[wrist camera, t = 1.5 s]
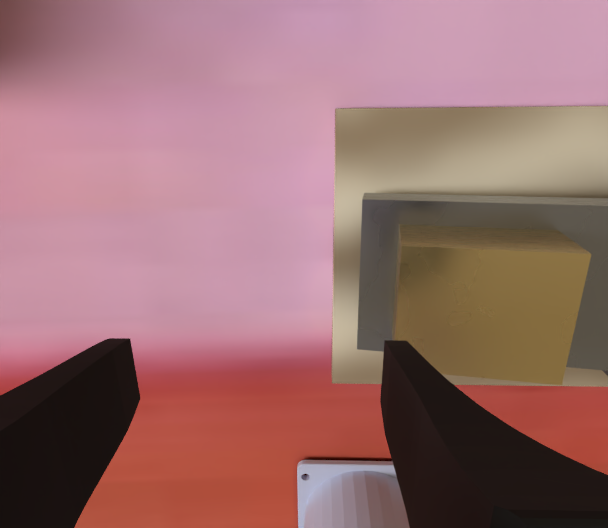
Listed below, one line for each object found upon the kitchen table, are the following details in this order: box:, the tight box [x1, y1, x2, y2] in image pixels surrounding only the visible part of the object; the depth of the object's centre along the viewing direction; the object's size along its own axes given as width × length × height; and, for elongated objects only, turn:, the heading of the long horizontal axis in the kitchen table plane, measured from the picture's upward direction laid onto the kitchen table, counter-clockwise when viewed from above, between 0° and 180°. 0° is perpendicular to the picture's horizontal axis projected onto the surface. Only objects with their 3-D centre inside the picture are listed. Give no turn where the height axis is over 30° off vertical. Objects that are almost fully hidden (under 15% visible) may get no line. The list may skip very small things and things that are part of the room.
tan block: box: [392, 225, 591, 385], centre depth 17 cm, size 5×6×3 cm
